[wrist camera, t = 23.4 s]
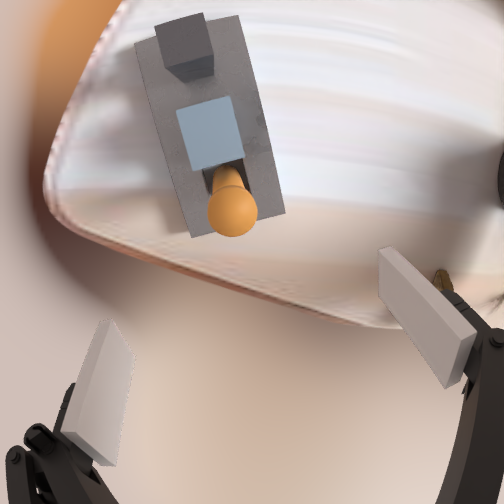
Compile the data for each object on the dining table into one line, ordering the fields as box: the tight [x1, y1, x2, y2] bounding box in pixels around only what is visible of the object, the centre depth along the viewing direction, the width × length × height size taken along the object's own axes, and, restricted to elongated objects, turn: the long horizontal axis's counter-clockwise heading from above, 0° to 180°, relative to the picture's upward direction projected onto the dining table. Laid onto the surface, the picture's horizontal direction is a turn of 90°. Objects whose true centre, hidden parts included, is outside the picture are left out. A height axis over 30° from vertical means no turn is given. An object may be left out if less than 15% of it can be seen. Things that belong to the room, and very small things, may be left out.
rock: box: [432, 270, 454, 292], centre depth 48 cm, size 11×9×10 cm
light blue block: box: [176, 96, 245, 171], centre depth 30 cm, size 6×5×7 cm
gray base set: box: [134, 13, 285, 238], centre depth 28 cm, size 25×12×16 cm, turn 13°
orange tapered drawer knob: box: [207, 165, 258, 237], centre depth 32 cm, size 4×4×14 cm
